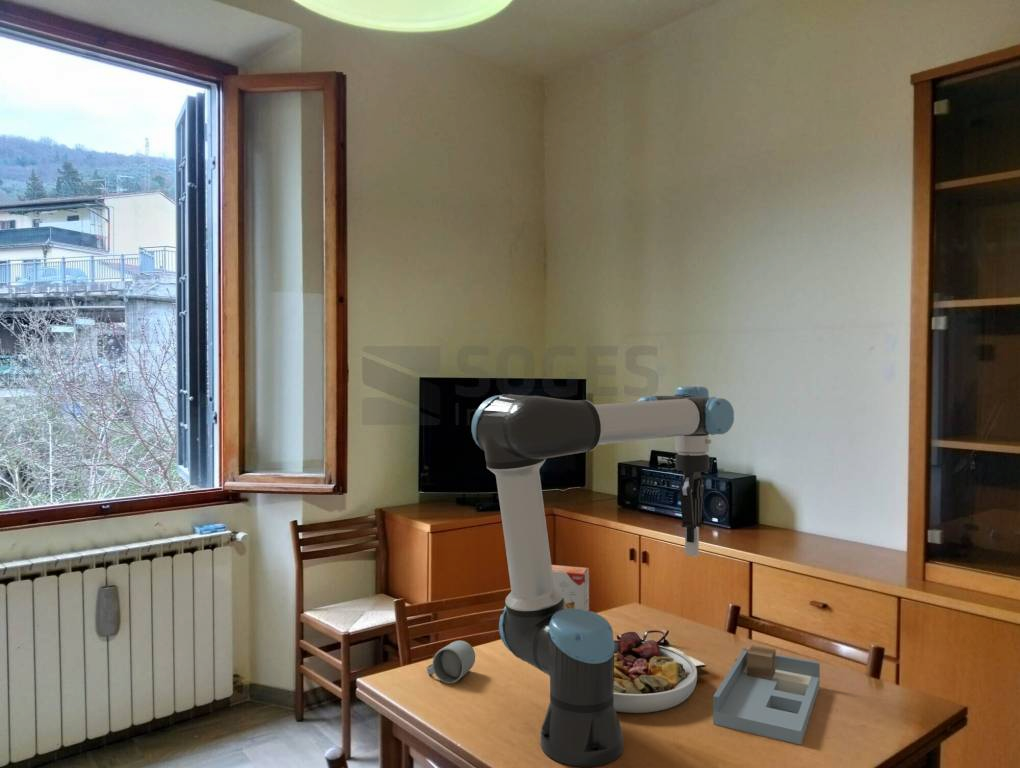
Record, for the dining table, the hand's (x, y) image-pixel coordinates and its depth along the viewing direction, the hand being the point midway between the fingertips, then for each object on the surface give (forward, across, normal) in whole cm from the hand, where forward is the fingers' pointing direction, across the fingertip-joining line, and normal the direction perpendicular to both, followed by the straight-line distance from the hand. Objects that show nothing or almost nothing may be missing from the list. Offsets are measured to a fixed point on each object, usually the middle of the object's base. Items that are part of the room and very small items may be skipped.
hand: (692, 555), depth 166 cm
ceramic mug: (+27, -31, +47) cm, 62 cm away
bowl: (+27, -16, +10) cm, 33 cm away
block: (+24, -1, -16) cm, 29 cm away
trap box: (+26, -10, -19) cm, 34 cm away
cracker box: (+27, -6, +31) cm, 41 cm away
